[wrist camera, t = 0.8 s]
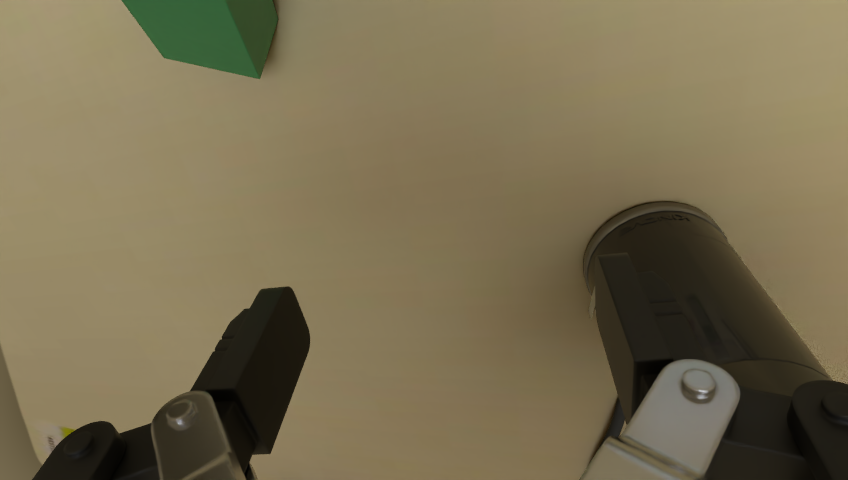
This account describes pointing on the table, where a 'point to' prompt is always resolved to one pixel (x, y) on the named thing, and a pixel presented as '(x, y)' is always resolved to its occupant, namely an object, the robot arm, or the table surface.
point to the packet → (210, 31)
